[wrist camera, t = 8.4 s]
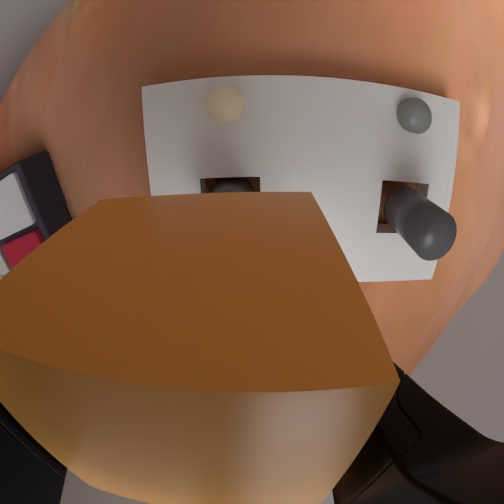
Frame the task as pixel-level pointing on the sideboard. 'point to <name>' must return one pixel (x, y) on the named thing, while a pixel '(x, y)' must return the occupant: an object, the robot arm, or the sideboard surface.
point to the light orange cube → (195, 349)
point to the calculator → (29, 208)
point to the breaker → (420, 223)
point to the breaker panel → (310, 151)
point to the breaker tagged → (232, 185)
